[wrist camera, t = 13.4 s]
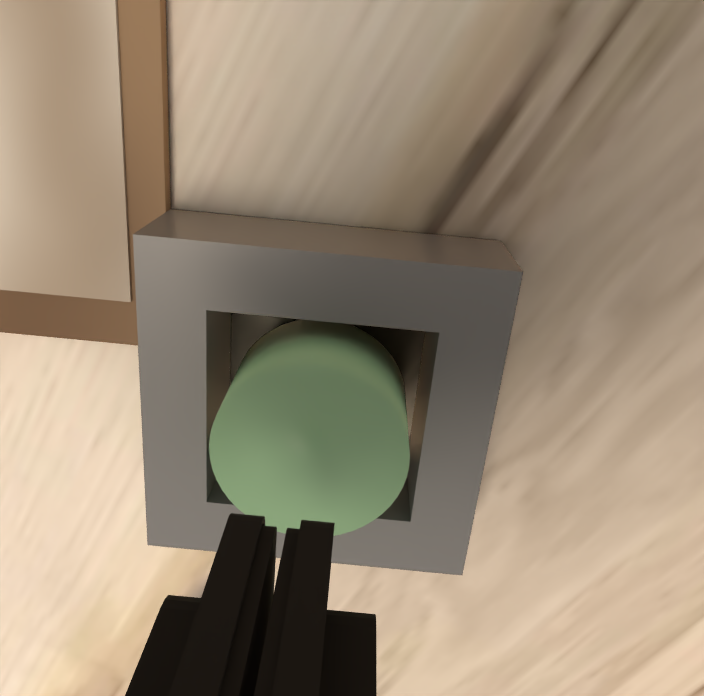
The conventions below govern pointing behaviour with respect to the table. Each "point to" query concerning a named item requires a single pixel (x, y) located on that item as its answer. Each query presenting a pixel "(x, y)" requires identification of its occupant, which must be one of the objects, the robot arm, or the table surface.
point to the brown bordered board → (79, 161)
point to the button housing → (329, 306)
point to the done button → (313, 428)
